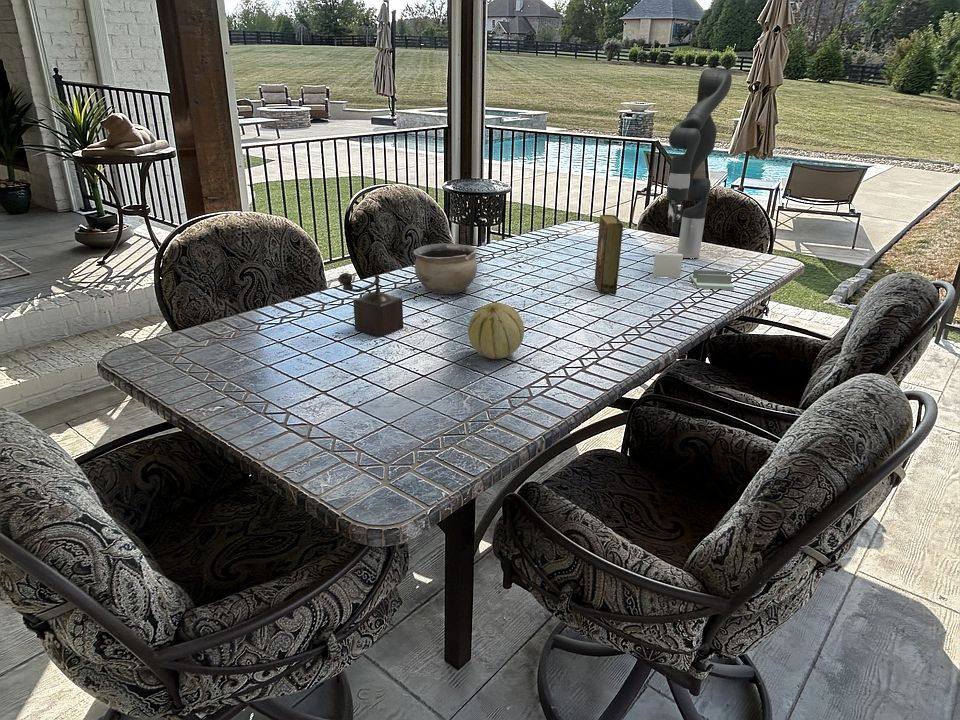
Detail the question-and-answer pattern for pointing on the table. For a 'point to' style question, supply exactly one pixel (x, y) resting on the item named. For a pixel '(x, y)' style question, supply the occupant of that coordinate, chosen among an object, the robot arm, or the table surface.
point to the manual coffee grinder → (375, 309)
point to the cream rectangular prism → (667, 265)
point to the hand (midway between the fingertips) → (672, 230)
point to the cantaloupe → (496, 330)
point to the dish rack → (711, 279)
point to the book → (608, 254)
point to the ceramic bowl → (445, 267)
